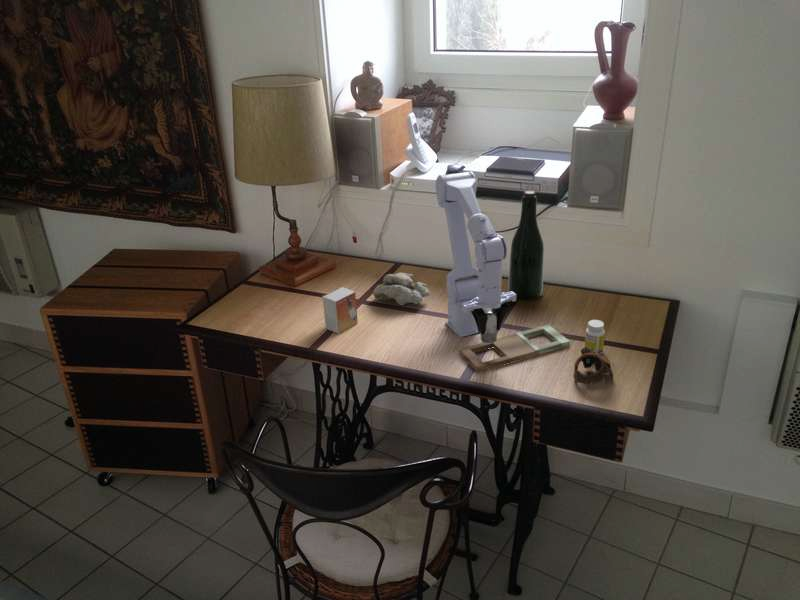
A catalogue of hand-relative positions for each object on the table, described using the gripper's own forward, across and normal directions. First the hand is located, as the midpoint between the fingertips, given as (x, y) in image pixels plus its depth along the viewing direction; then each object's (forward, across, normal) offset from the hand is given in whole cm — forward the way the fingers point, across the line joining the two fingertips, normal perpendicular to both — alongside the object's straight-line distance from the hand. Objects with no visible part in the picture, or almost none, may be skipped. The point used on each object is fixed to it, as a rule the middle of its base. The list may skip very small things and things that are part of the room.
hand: (488, 330), depth 176 cm
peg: (+3, 0, 0) cm, 3 cm away
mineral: (+9, -7, +40) cm, 41 cm away
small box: (+8, -29, +34) cm, 45 cm away
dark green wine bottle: (+8, +28, +26) cm, 39 cm away
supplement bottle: (+8, +26, -10) cm, 29 cm away
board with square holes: (+8, +8, 0) cm, 11 cm away
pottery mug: (+8, +18, -20) cm, 28 cm away
